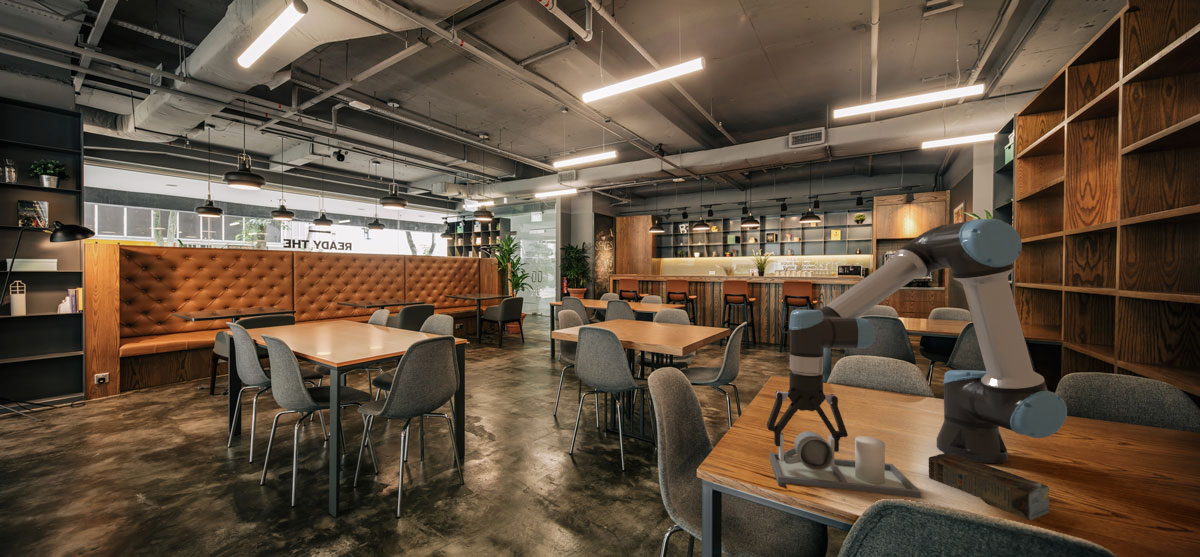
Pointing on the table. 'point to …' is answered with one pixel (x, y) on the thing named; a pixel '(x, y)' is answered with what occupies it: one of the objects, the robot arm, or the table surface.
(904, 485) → the cup caddy
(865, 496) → the table surface
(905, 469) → the table surface
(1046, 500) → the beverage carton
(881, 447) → the white pillar candle
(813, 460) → the ceramic mug
